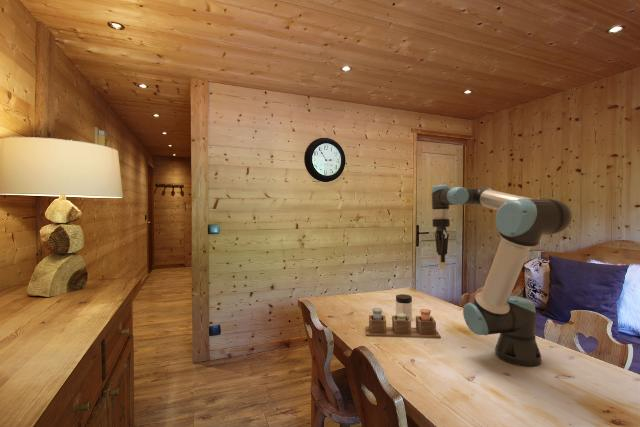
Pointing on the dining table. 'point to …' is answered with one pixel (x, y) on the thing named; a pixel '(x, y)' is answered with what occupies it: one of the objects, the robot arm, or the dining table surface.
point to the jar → (404, 305)
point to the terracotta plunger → (425, 314)
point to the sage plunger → (401, 316)
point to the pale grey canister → (377, 313)
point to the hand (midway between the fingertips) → (442, 268)
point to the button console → (402, 328)
